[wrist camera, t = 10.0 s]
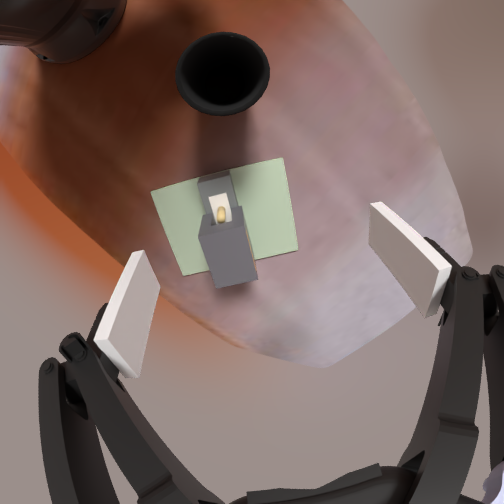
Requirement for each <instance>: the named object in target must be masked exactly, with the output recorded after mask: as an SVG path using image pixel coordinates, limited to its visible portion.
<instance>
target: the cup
mask: <svg viewBox="0 0 504 504" xmlns="http://www.w3.org/2000/svg"><path fill="white" fill-rule="evenodd" d="M175 77H176V84H177V88H178V91H179V93H180V94H181V96H182V98H183V99H184V100H185V101H186V102H187V103H188V104H189V105H190V106H191V107H193V108H194V109H196V110H198V111H200V112H202V113H205V114H209V115H215V116H226V115H233V114H236V113H239V112H242V111H244V110H246V109H248V108H249V107H251V106H252V105H254V104H255V103H256V102H257V101H258V100H259V99H260V98H261V97H262V95H263V93H264V92H265V90H266V88H267V85H268V82H269V78H270V67H269V63H268V59H267V57H266V55H265V53H264V52H263V50H262V49H261V48H260V47H259V46H258V45H257V44H256V43H255V42H254V41H253V40H251V39H249V38H247V37H246V36H243V35H240V34H237V33H232V32H218V33H211V34H208V35H206V36H203V37H201V38H199V39H197V40H196V41H194V42H193V43H191V44H190V45H189V46H188V47H187V48H186V49H185V51H184V52H183V53H182V55H181V57H180V59H179V60H178V63H177V67H176V71H175Z"/></svg>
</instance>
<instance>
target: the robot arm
mask: <svg viewBox="0 0 504 504" xmlns="http://www.w3.org/2000/svg"><path fill="white" fill-rule="evenodd" d="M125 5H126V0H0V45H10V46H24V47H27V48H28V49H29V50H30V51H31V52H33V53H34V54H35V55H36V56H37V57H39V58H40V59H41V60H43V61H46V62H50V63H58V64H64V63H70V62H73V61H76V60H79V59H81V58H83V57H85V56H86V55H88V54H89V53H91V52H92V51H94V50H95V49H96V48H97V47H99V46H100V45H101V44H102V43H103V42H104V41H105V40H106V39H107V38H108V37H109V35H110V34H111V33H112V32H113V30H114V29H115V27H116V26H117V24H118V23H119V21H120V19H121V17H122V15H123V12H124V9H125ZM369 245H370V247H371V248H372V249H373V250H374V251H375V253H376V254H377V255H378V256H379V258H380V259H381V260H382V261H383V263H384V264H385V265H386V266H387V268H388V269H389V270H390V272H391V273H392V274H393V276H394V277H395V278H396V279H397V281H398V282H399V283H400V285H401V286H402V287H403V289H404V290H405V292H406V293H407V294H408V296H409V297H410V298H411V300H412V301H413V303H414V304H415V305H416V307H417V308H418V310H419V311H420V313H421V314H422V315H423V317H424V318H427V317H429V316H432V315H434V314H436V313H437V311H438V308H439V306H440V304H441V306H442V307H443V308H444V311H443V314H442V316H441V319H440V321H439V324H438V326H440V325H441V327H440V334H439V340H438V346H437V351H436V356H435V361H434V366H433V370H432V375H431V379H430V383H429V386H428V390H427V394H426V397H425V401H424V404H423V407H422V411H421V414H420V417H419V420H418V423H417V426H416V429H415V431H414V434H413V437H412V439H411V442H410V444H409V446H408V447H407V449H406V450H405V452H404V453H403V455H402V457H401V459H400V461H399V463H398V465H397V467H395V466H382V467H380V466H379V463H377V464H374V465H371V466H368V467H365V468H363V469H359V470H356V471H353V472H350V473H347V474H345V475H344V476H342V477H340V478H338V479H336V480H334V481H332V482H330V483H328V484H326V485H324V486H322V487H320V488H317V489H283V488H278V489H271V490H261V491H251V492H247V496H244V497H242V498H239V499H237V500H235V501H233V502H231V503H229V504H504V267H503V266H500V265H494V266H493V267H492V269H491V271H490V274H486V275H480V274H479V273H478V272H477V271H476V270H475V269H473V268H471V267H466V266H463V267H461V266H460V265H459V264H458V263H457V262H456V261H455V260H454V259H453V258H452V257H451V256H450V255H449V254H448V253H447V252H446V253H445V251H444V250H443V249H442V248H440V246H439V245H438V244H437V243H436V242H435V241H433V240H431V239H429V238H427V237H421V236H420V235H419V234H418V233H417V232H416V231H415V230H414V229H413V228H412V227H410V226H409V225H408V224H407V223H406V222H405V221H404V220H402V219H401V218H400V217H399V216H398V215H397V214H395V213H394V212H393V211H392V210H391V209H389V208H388V207H387V206H386V205H384V204H383V203H382V202H376V203H370V223H369ZM159 291H160V285H159V282H158V280H157V278H156V276H155V274H154V272H153V269H152V267H151V265H150V263H149V261H148V258H147V256H146V254H145V251H144V250H141V251H136V252H132V254H131V256H130V258H129V260H128V262H127V264H126V266H125V268H124V271H123V273H122V275H121V277H120V279H119V281H118V283H117V285H116V287H115V290H114V292H113V294H112V296H111V299H110V301H109V303H105V304H104V305H103V306H102V308H101V309H100V310H99V312H98V314H97V316H96V320H95V321H94V323H93V326H92V328H91V331H90V333H89V336H88V338H87V341H85V340H84V338H83V337H82V336H81V334H80V333H77V332H74V333H71V334H69V335H67V336H66V337H65V338H64V339H63V341H62V342H61V344H60V346H59V352H60V353H61V354H62V355H63V356H64V357H65V358H66V360H67V361H66V362H63V363H61V364H60V363H59V362H58V361H57V359H56V358H53V357H51V358H48V359H47V360H45V361H44V362H43V363H42V365H41V367H40V370H39V424H40V437H41V446H42V454H43V461H44V467H45V473H46V478H47V483H48V488H49V492H50V496H51V500H52V504H120V503H119V501H118V498H117V496H116V493H115V490H114V488H113V485H112V482H111V479H110V476H109V473H108V470H107V467H106V464H105V461H104V457H103V453H102V450H101V446H100V442H99V438H98V435H97V430H96V427H97V429H98V431H99V433H100V434H101V436H102V438H103V440H104V442H105V444H106V446H107V447H108V449H109V451H110V453H111V454H112V456H113V458H114V459H115V461H116V463H117V464H118V466H119V468H120V469H121V471H122V472H123V474H124V475H125V477H126V478H127V480H128V481H129V483H130V484H131V486H132V487H133V489H134V490H135V491H136V493H137V495H138V497H139V499H138V501H137V503H138V504H225V503H224V502H223V501H222V500H221V499H219V498H218V497H217V496H216V495H214V494H213V493H212V492H210V491H209V490H207V489H206V488H205V487H204V486H202V484H201V483H200V482H198V480H196V478H195V477H194V476H193V475H192V474H191V473H190V472H189V471H188V470H187V469H186V468H185V467H184V466H183V464H182V463H181V462H180V461H179V460H178V459H177V458H176V456H175V455H174V454H173V453H172V452H171V450H170V449H169V448H168V447H167V446H166V444H165V443H164V442H163V441H162V439H161V438H160V437H159V436H158V434H157V433H156V432H155V431H154V429H153V428H152V427H151V425H150V424H149V422H148V421H147V420H146V418H145V417H144V416H143V414H142V413H141V411H140V410H139V409H138V407H137V406H136V404H135V403H134V401H133V400H132V398H131V397H130V395H129V394H128V392H127V390H126V389H125V387H124V386H123V384H122V382H121V381H120V380H119V379H118V374H119V371H120V373H121V374H122V375H123V376H124V377H125V378H139V376H140V371H141V366H142V361H143V356H144V352H145V347H146V342H147V338H148V334H149V330H150V326H151V322H152V318H153V314H154V310H155V306H156V302H157V298H158V295H159ZM498 310H499V312H498ZM483 354H484V360H485V366H486V374H487V382H488V393H489V405H490V464H491V473H490V475H489V477H488V478H487V479H486V480H485V481H484V483H483V489H484V491H486V493H485V496H484V498H483V500H482V501H481V502H480V501H477V500H474V499H472V498H469V497H467V496H464V495H462V494H460V493H461V491H462V488H463V486H464V483H465V480H466V477H467V474H468V471H469V468H470V465H471V462H472V458H473V455H474V451H475V448H476V444H477V440H478V434H479V430H478V427H477V426H475V424H474V421H475V414H476V409H477V404H478V398H479V391H480V383H481V374H482V361H483ZM95 425H96V426H95Z"/></svg>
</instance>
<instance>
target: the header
mask: <svg viewBox="0 0 504 504" xmlns="http://www.w3.org/2000/svg"><path fill="white" fill-rule="evenodd" d="M151 195H152V198H153V201H154V203H155V206H156V209H157V212H158V214H159V217H160V220H161V222H162V225H163V227H164V230H165V233H166V235H167V238H168V240H169V243H170V245H171V248H172V250H173V253H174V255H175V257H176V260H177V262H178V265H179V267H180V269H181V272H182V274H183V276H185V275H190V274H194V273H199V272H203V271H208V270H209V267H208V264H207V262H206V259H205V256H204V253H203V250H202V247H201V245H200V242H199V239H198V234H199V229H200V225H201V220H202V216H203V215H205V214H209V213H213V215H214V219H215V222H216V225H217V224H221V223H225V222H230V221H232V208H233V207H237V206H242V208H243V212H244V216H245V220H246V224H247V228H248V232H249V236H250V240H251V244H252V248H253V252H254V258H255V260H256V259H261V258H265V257H269V256H274V255H278V254H283V253H287V252H291V251H296V250H298V244H297V237H296V231H295V224H294V218H293V212H292V206H291V200H290V195H289V189H288V183H287V178H286V172H285V167H284V162H283V158H277V159H272V160H267V161H263V162H258V163H254V164H249V165H245V166H240V167H236V168H232V169H228V170H224V171H220V172H216V173H212V174H208V175H205V176H201V177H197V178H194V179H190V180H187V181H183V182H180V183H176V184H173V185H170V186H166V187H163V188H160V189H157V190H153V191H151Z"/></svg>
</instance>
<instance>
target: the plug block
mask: <svg viewBox="0 0 504 504" xmlns="http://www.w3.org/2000/svg"><path fill="white" fill-rule="evenodd" d="M198 239H199V242H200V245H201V247H202V250H203V253H204V256H205V259H206V262H207V264H208V267H209V270H210V273H211V275H212V278H213V281H214V283H215V286H216V289H217V288H222V287H227V286H231V285H236V284H241V283H245V282H250V281H254V280H258V276H257V270H256V264H255V258H254V252H253V248H252V244H251V240H250V236H249V232H248V228H247V224H246V220H245V216H244V212H243V208H242V206H237V207H233V208H232V221H230V222H225V223H221V224H217V225H216V222H215V219H214V215H213V213H209V214H205V215H203V216H202V220H201V225H200V229H199V234H198Z"/></svg>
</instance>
